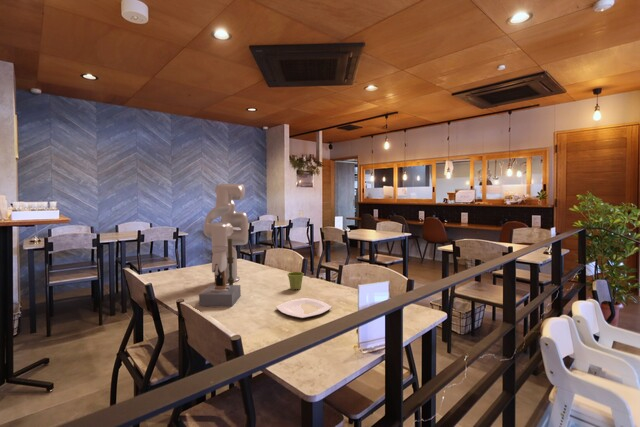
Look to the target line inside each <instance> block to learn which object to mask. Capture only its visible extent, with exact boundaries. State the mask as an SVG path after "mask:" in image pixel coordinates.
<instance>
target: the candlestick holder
mask: <svg viewBox="0 0 640 427" xmlns="http://www.w3.org/2000/svg"><path fill="white" fill-rule="evenodd" d="M232 246H233V245H232V239H228V258H227V260H228V261H227V262H228V264H229V275H230V276H229V279H228V282H229V283H228V285H234V283H235V282H234V278H233V277H232V263H233V259H234V257H232Z"/></svg>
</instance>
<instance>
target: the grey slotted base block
mask: <svg viewBox="0 0 640 427" xmlns="http://www.w3.org/2000/svg"><path fill="white" fill-rule="evenodd" d="M241 296H242V295H241V285H240V284H233V285H229V284H226V289H215V284H210V285H208V286H207V287H206V288H205V289H204V290H203V291H201V292H200V293H199V294H198V297H199V299H198V303H199V307H207V308H208V307H212V308H213V307H214V308H215V307H219V308H221V307H230V308H232V307H233V306H234V305H235V304H236V302H237V301H238V300H239V299H240V298H241Z"/></svg>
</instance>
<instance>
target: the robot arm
mask: <svg viewBox="0 0 640 427" xmlns="http://www.w3.org/2000/svg"><path fill="white" fill-rule="evenodd" d="M214 190H215V192H214V193H215V194H216V196H215V197H216V198H215V205H214V207H213V208H212V209H211V210H210V211H209V212H208V213H207V215H206V216H205V218H204V225H203V226H204V228H203V232H204V233H203V234H204V235H205V236H206V238H211V253H212V254H211V255H212V256H211V257H212V258H211V272H212V273H214V272H215V273H214V276H215V275H216V286H223V278H222V272H223V271H226V284H227V283H228V284H229V282H228V279H229V276H230V275H229V264H228V262H227V261H228V260H227V258H228V239H232V257H234V259H233V263H232V277H233V278H234V282H233V283H237V282H239V281H240V280H241V278H240V276H238V252H237V249H236V248H235V247H234V246H245V245H247V244H248V242H249V222H248V221H249V220H248V214H247V213H246V212H244V211H236V203H235V202H234V201H241V200H243V199H244V198H245V194H246V189H245V186H244V184H242V183H219V184H217V185H215V189H214ZM218 218H221V220H220V222H213V221H214V220H216V219H218ZM234 228H240V229H234ZM218 271H220V272H218ZM219 273H220V274H219Z"/></svg>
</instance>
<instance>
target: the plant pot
mask: <svg viewBox="0 0 640 427" xmlns="http://www.w3.org/2000/svg"><path fill="white" fill-rule="evenodd" d="M304 275H305V273H303V272H301V271H292V272H291V271H290V272H288V273H287V276H288V280H289V288H290V290H292V289H296V290H297V289H299V290H301V289H302V286H303V285H302V283H303V278H304ZM300 288H301V289H300Z"/></svg>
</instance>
